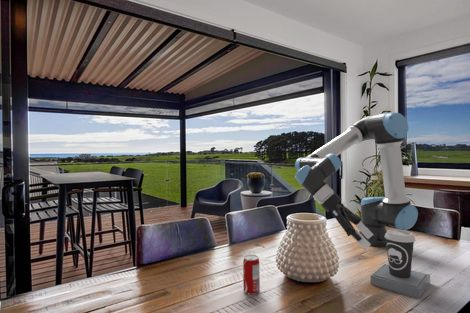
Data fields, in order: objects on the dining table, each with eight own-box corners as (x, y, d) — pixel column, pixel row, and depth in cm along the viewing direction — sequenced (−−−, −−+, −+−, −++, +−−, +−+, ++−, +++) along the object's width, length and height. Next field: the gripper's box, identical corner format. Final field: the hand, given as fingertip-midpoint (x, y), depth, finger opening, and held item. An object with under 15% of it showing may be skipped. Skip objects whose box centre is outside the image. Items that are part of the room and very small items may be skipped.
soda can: (243, 287, 103) (243, 253, 103) (259, 287, 103) (258, 253, 102) (243, 295, 97) (243, 259, 97) (260, 295, 97) (259, 259, 97)
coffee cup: (420, 281, 98) (420, 236, 98) (389, 279, 100) (389, 235, 100) (409, 269, 108) (409, 229, 108) (381, 268, 110) (381, 228, 109)
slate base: (384, 271, 115) (384, 263, 115) (430, 283, 104) (430, 274, 104) (370, 284, 104) (370, 275, 104) (419, 298, 94) (419, 288, 93)
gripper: (327, 199, 128) (364, 238, 121) (312, 210, 106) (357, 258, 99) (339, 188, 125) (379, 227, 118) (327, 196, 103) (375, 245, 96)
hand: (369, 241), depth 109 cm, fingers open, 13 cm apart
